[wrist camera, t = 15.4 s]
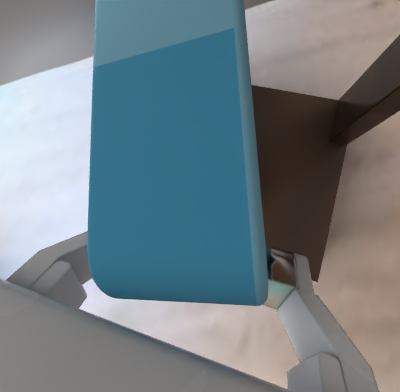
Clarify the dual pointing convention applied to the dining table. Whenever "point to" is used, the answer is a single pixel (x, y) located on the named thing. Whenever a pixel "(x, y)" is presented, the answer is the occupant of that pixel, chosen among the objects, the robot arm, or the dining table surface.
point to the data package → (174, 155)
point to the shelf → (314, 152)
